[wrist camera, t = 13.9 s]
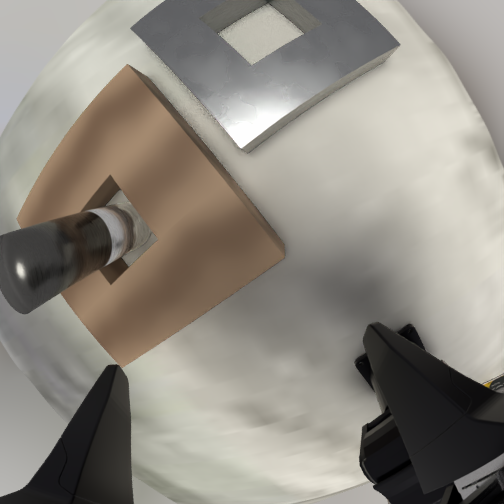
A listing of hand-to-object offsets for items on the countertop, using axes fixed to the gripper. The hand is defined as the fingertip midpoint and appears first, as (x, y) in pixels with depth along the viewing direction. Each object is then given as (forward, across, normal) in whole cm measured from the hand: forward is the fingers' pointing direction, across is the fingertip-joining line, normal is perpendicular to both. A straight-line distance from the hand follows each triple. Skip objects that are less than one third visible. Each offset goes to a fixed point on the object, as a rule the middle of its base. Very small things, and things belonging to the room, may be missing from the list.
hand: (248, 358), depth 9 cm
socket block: (+17, -5, -13) cm, 22 cm away
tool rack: (+16, +7, +1) cm, 17 cm away
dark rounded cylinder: (+16, +7, +1) cm, 17 cm away
